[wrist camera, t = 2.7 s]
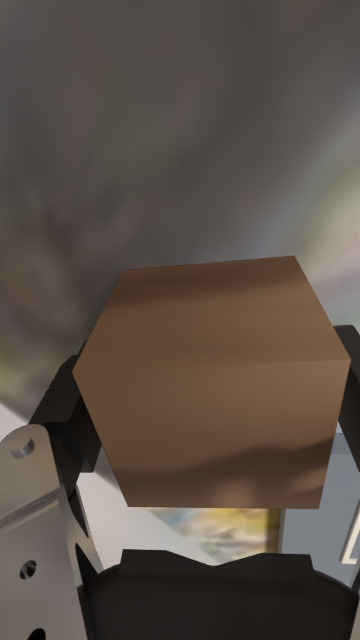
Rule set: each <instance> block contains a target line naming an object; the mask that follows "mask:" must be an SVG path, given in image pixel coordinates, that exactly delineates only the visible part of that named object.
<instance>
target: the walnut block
mask: <svg viewBox="0 0 360 640" xmlns="http://www.w3.org/2000/svg"><path fill="white" fill-rule="evenodd" d="M350 362H351V358H350V357H349V355H348V353H347V351H346V349H345V348H344V346H343V344H342V342H341V340H340V338H339V337H338V335H337V333H336V331H335V329H334V327H333V326H332V324H331V322H330V320H329V318H328V316H327V315H326V313H325V311H324V309H323V307H322V306H321V304H320V302H319V300H318V298H317V296H316V295H315V293H314V291H313V289H312V287H311V285H310V284H309V282H308V280H307V278H306V276H305V274H304V273H303V271H302V269H301V267H300V265H299V263H298V262H297V260H296V258H295V256H284V257H272V258H261V259H249V260H237V261H226V262H214V263H202V264H191V265H179V266H167V267H155V268H144V269H132V270H123V272H122V274H121V276H120V278H119V280H118V282H117V284H116V286H115V288H114V290H113V291H112V293H111V295H110V297H109V299H108V301H107V303H106V305H105V307H104V309H103V311H102V313H101V315H100V317H99V319H98V321H97V323H96V325H95V327H94V329H93V331H92V333H91V335H90V337H89V339H88V341H87V343H86V345H85V347H84V349H83V351H82V353H81V355H80V357H79V359H78V361H77V363H76V365H75V367H74V369H73V371H72V373H73V376H74V378H75V380H76V383H77V385H78V388H79V390H80V392H81V395H82V397H83V400H84V402H85V405H86V407H87V409H88V412H89V414H90V417H91V419H92V421H93V424H94V426H95V429H96V431H97V433H98V436H99V438H100V441H101V443H102V445H103V448H104V450H105V453H106V455H107V457H108V460H109V462H110V465H111V467H112V469H113V472H114V474H115V477H116V479H117V481H118V484H119V486H120V489H121V491H122V493H123V496H124V498H125V501H126V503H127V505H128V507H184V508H259V509H319V506H320V502H321V497H322V492H323V488H324V483H325V478H326V474H327V469H328V464H329V460H330V455H331V450H332V446H333V441H334V436H335V432H336V427H337V422H338V418H339V413H340V408H341V404H342V399H343V394H344V390H345V385H346V380H347V376H348V371H349V367H350Z"/></svg>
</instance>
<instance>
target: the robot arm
mask: <svg viewBox="0 0 360 640" xmlns="http://www.w3.org/2000/svg"><path fill="white" fill-rule="evenodd" d="M333 327H334V329H335V331H336V333H337V335H338V337H339V338H340V340H341V342H342V344H343V346H344V348H345V349H346V351H347V353H348V355H349V357H350V358H351V362H350V367H349V371H348V376H347V380H346V385H345V390H344V394H343V399H342V404H341V408H340V413H339V418H338V422H339V424H340V427H341V429H342V432H343V434H344V436H345V439H346V441H347V444H348V446H349V449H350V451H351V454H352V456H353V459H354V461H355V464H356V466H357V468H358V471H359V472H360V335H359V333H358V332H357V330H356V329H355V327H354V326H353V325H338V326H333ZM87 341H88V340H86V341H85V342H84V344H83V346H82V348H81V349H80V351H79V353H78V355H72V356H71V357H70V358H69V359H68V360H67V361H65V362H64V363H63V364H62V365H61V366H60V368H59V370H58V372H57V374H56V375H55V379H53V381H52V382H51V384H50V386H49V389H48V390H47V391H46V393H45V395H44V397H43V399H42V400H41V402H40V404H39V406H38V407H37V409H36V411H35V413H34V415H33V416H32V418H31V420H30V422H29V424H28V425H25V426H22V427H20V428H18V429H16V430H14V431H12V432H11V433H10V434H8V435H7V436H6V437H5V438H4V439H3V440H2V441H1V442H0V640H360V552H359V555H358V559H357V562H356V565H355V568H354V571H353V575H352V578H351V582H350V585H349V587H348V586H347V585H345V584H343V583H342V582H340V581H339V580H337V579H335V578H333V577H331V576H329V575H327V574H325V573H323V572H320V571H317V570H314V569H313V564H312V560H311V555H310V554H282V553H260V554H256V555H253V556H249V557H246V558H242V559H238V560H235V561H231V562H228V563H224V564H221V565H217V566H210V565H206V564H204V563H201V562H198V561H195V560H192V559H190V558H187V557H184V556H181V555H178V554H175V553H173V552H170V551H167V550H135V549H123V552H122V557H121V562H120V564H118V565H114V566H112V567H110V568H108V569H105V570H104V569H103V566H102V563H101V561H100V558H99V556H98V553H97V551H96V548H95V546H94V542H93V539H92V535H91V532H90V528H89V525H88V522H87V518H86V514H85V511H84V507H83V504H82V500H81V496H80V493H79V489H78V486H77V484H76V482H77V479H78V477H79V474H80V473H82V472H83V473H86V472H87V473H91V472H92V473H93V471H94V468H95V464H96V461H97V458H98V455H99V452H100V448H101V445H102V443H101V441H100V438H99V436H98V433H97V431H96V429H95V426H94V424H93V421H92V419H91V417H90V414H89V412H88V409H87V407H86V405H85V402H84V400H83V397H82V395H81V392H80V390H79V388H78V385H77V383H76V380H75V378H74V376H73V373H72V371H73V369H74V367H75V365H76V363H77V361H78V359H79V357H80V355H81V353H82V351H83V349H84V347H85V345H86V343H87Z"/></svg>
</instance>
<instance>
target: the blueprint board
mask: <svg viewBox="0 0 360 640" xmlns="http://www.w3.org/2000/svg"><path fill="white" fill-rule="evenodd" d="M359 552H360V472H359V471H358V468H357V466H356V464H355V461H354V459H353V456H352V454H351V451H350V449H349V446H348V444H347V441H346V439H345V436H344V434H335V436H334V441H333V446H332V450H331V455H330V460H329V464H328V469H327V474H326V478H325V483H324V488H323V492H322V497H321V502H320V506H319V509H281V512H280V523H279V534H278V546H277V553H282V554H310V555H311V560H312V564H313V569H314V570H317V571H320V572H323V573H325V574H327V575H329V576H331V577H333V578H335V579H337V580H339V581H340V582H342V583H350V582H351V578H352V575H353V571H354V568H355V565H356V562H357V559H358V555H359Z"/></svg>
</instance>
